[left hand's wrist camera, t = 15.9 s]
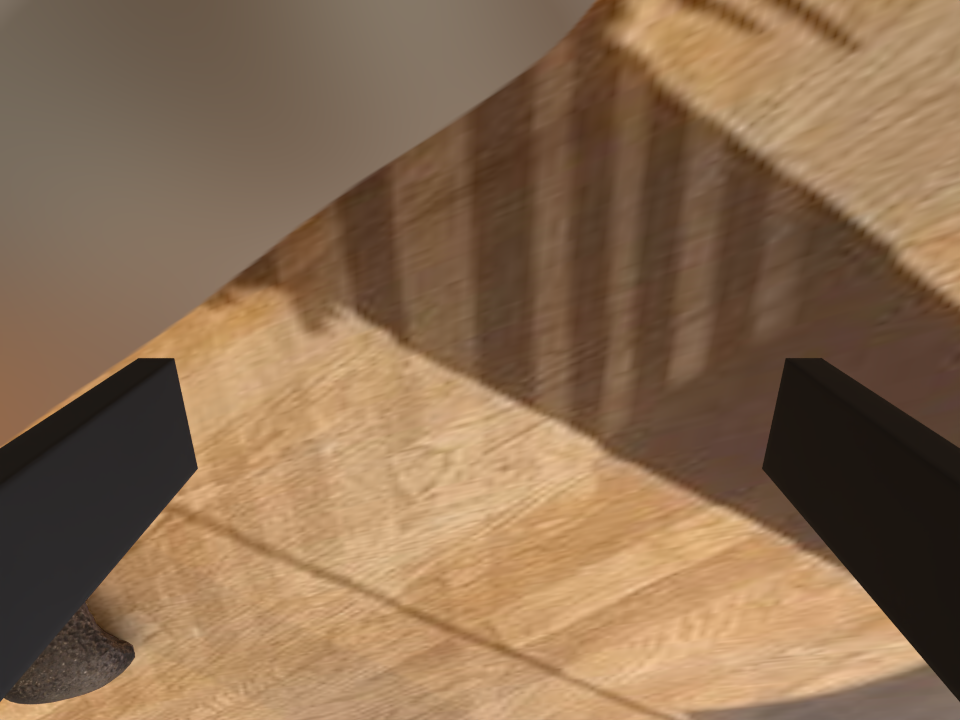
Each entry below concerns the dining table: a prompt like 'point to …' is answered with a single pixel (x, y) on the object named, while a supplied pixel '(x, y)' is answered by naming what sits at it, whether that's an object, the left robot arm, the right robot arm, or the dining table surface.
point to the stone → (73, 663)
